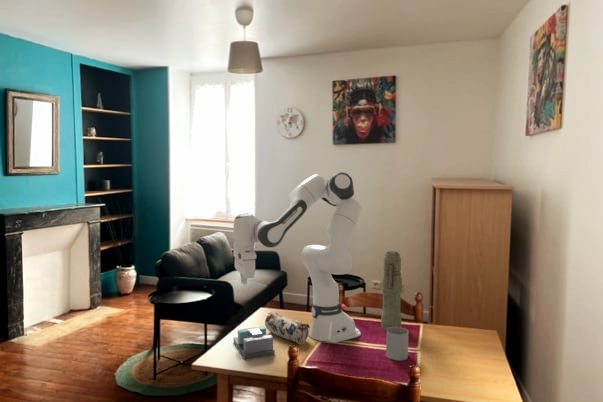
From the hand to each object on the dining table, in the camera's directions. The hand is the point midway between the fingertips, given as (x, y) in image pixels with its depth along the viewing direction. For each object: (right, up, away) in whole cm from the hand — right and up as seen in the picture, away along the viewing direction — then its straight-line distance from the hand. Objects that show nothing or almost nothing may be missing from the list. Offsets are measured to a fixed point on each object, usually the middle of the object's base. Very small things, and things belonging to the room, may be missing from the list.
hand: (244, 283), depth 188 cm
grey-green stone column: (+65, -23, +11) cm, 70 cm away
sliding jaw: (+5, -22, -9) cm, 24 cm away
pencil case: (+18, -24, +1) cm, 30 cm away
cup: (+62, -25, -17) cm, 69 cm away
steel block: (+6, -22, -14) cm, 27 cm away
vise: (+5, -24, -11) cm, 27 cm away
